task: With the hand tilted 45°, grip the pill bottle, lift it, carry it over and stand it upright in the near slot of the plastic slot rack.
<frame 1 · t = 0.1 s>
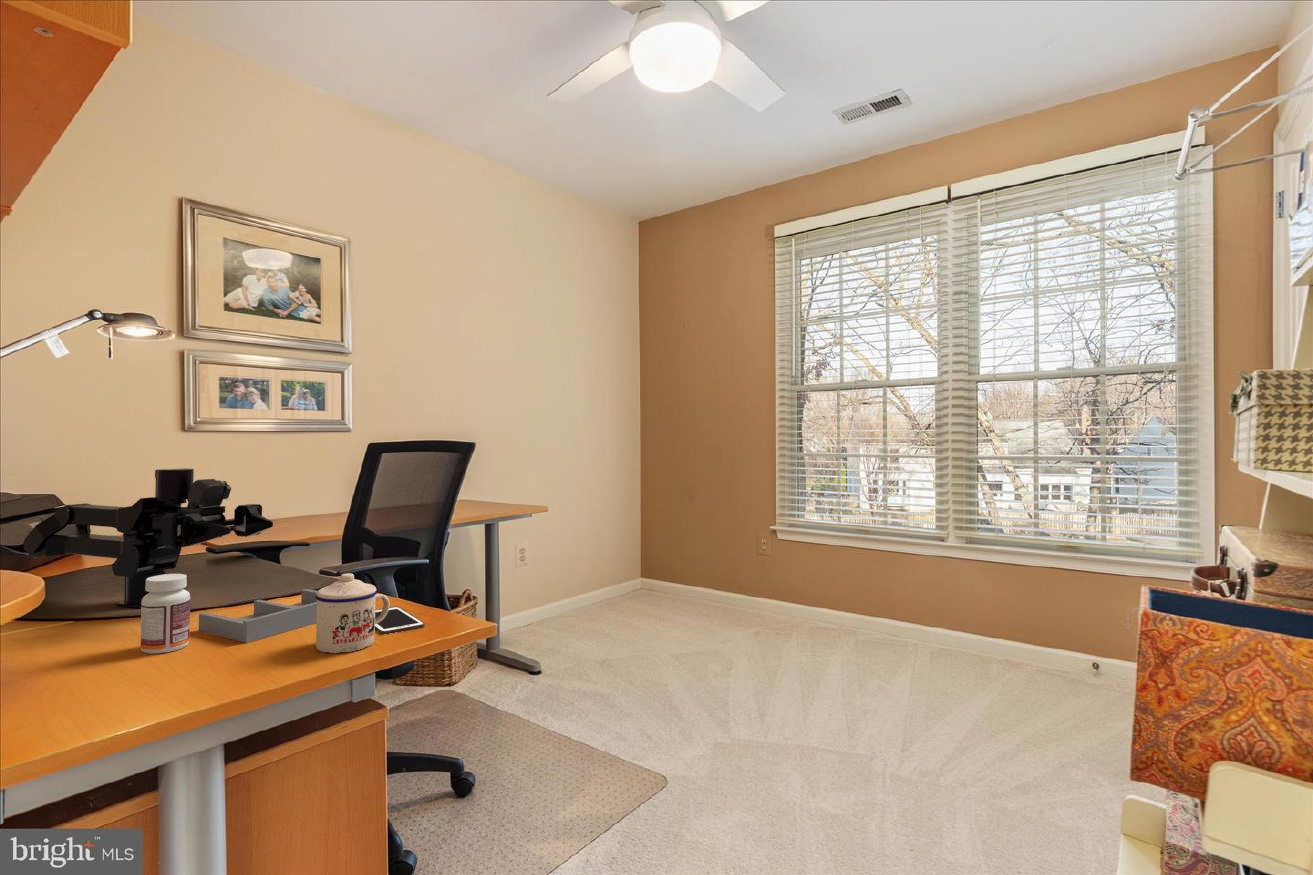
hand: (251, 527, 117), 17 cm above the table, tool horizontal, fingers open, 9 cm apart
pill bottle: (165, 649, 99), on the table
cell phone: (390, 624, 116), on the table
teacup with lid: (354, 643, 104), on the table
slot rack: (277, 620, 114), on the table
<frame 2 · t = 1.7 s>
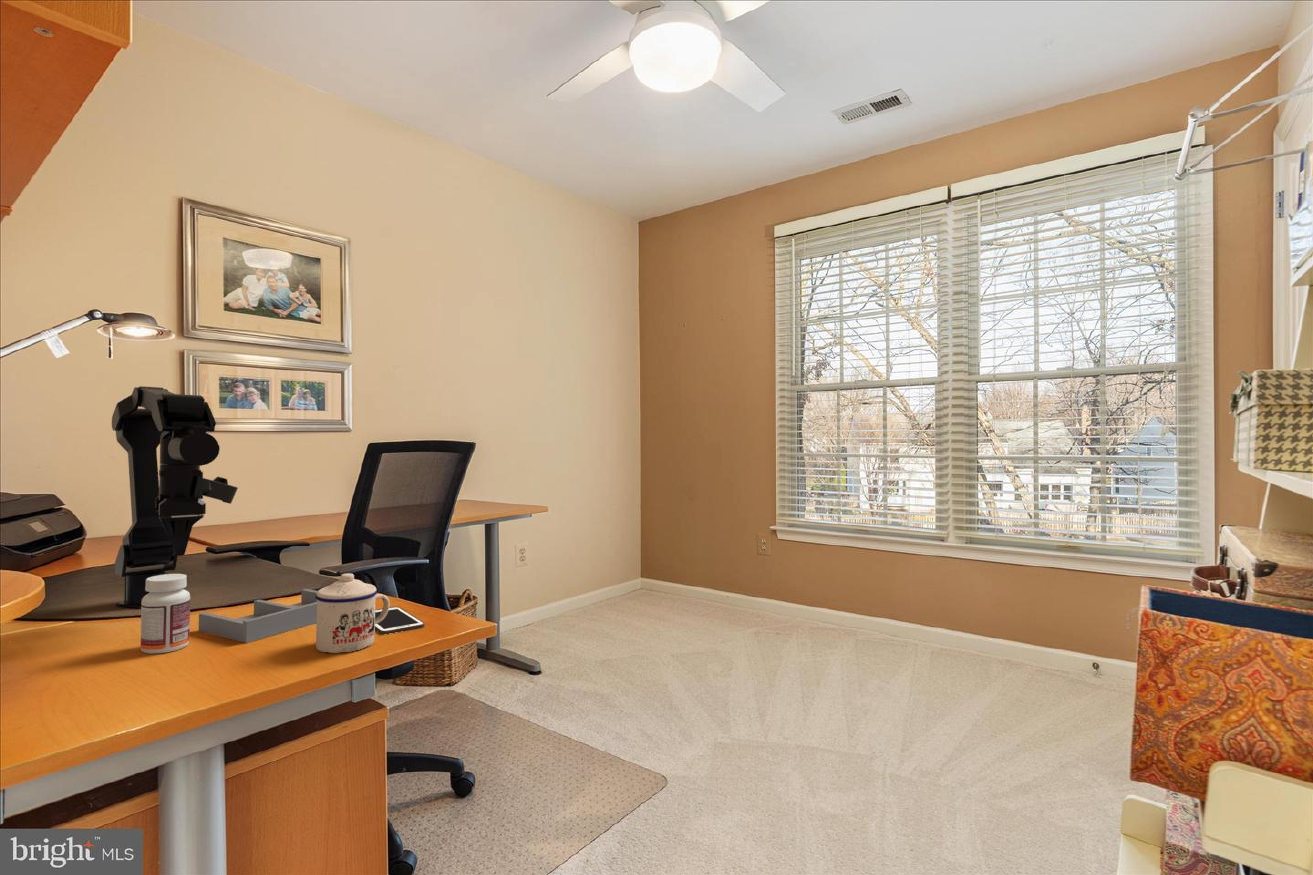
hand: (178, 551, 111), 13 cm above the table, tool pointing down, fingers open, 9 cm apart
nothing on the table moved.
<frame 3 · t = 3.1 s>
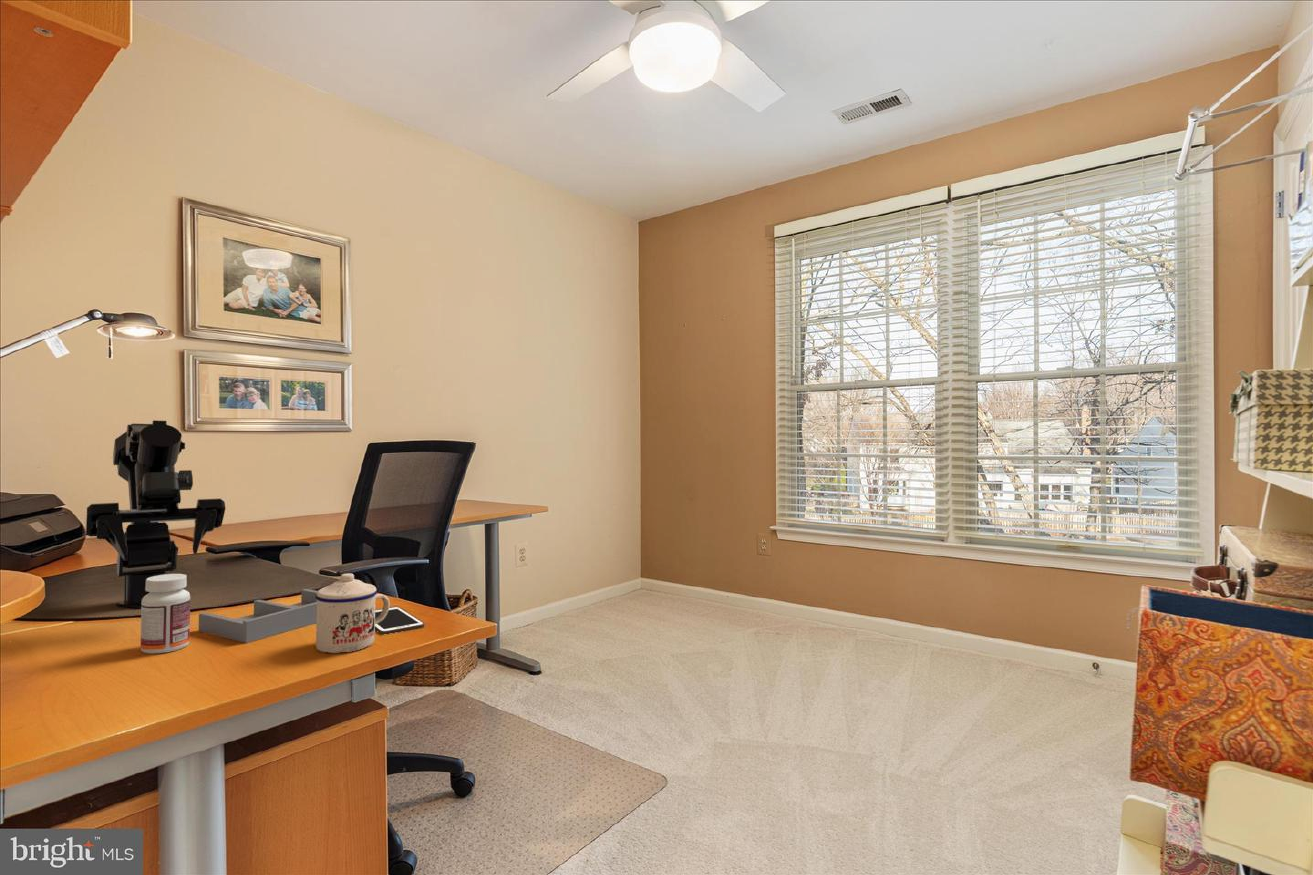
hand: (161, 555, 105), 13 cm above the table, tool tilted 45°, fingers open, 9 cm apart
nothing on the table moved.
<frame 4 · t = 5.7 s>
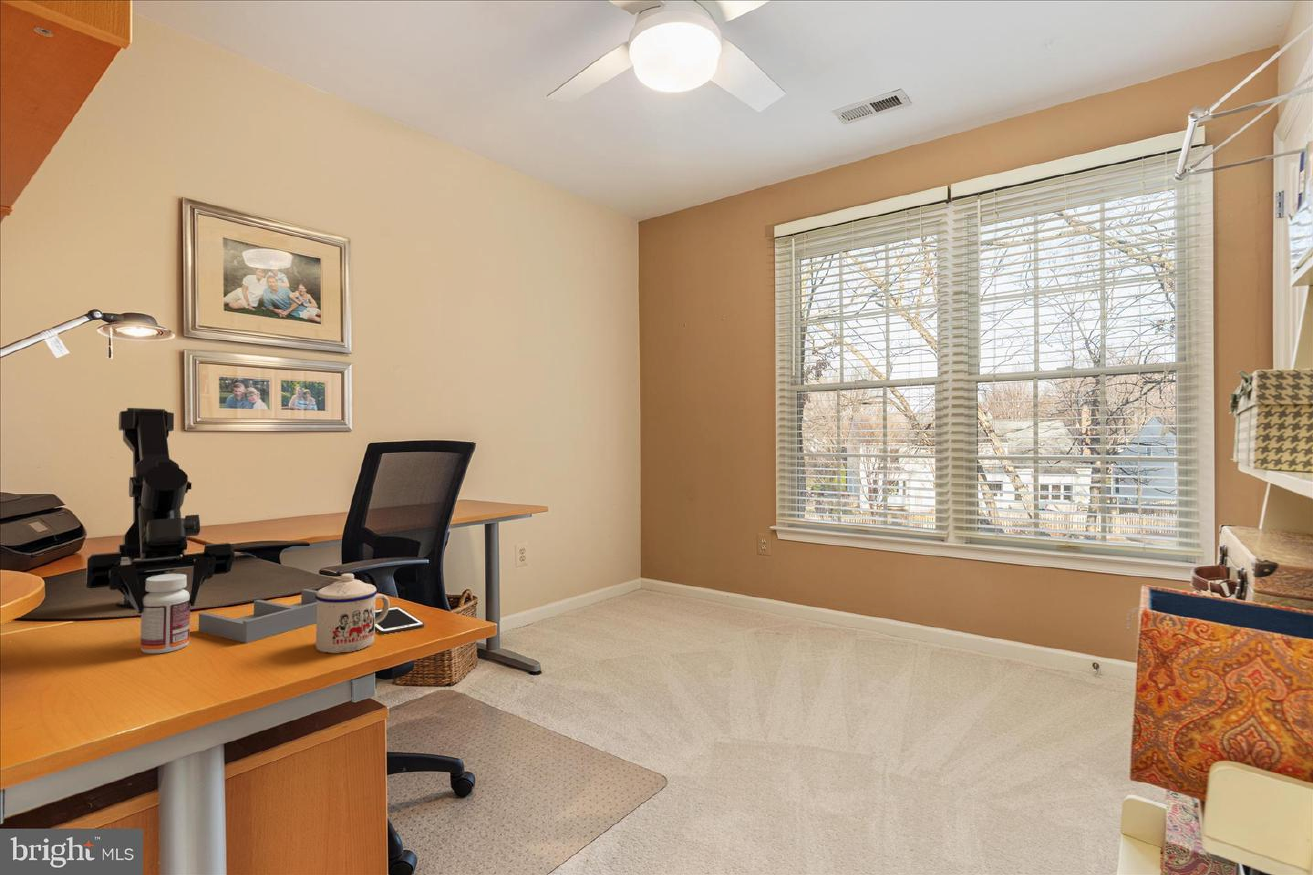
hand: (167, 608, 98), 7 cm above the table, tool tilted 45°, fingers closed on pill bottle, 6 cm apart
pill bottle: (165, 649, 99), on the table, touching gripper
everything else where it was.
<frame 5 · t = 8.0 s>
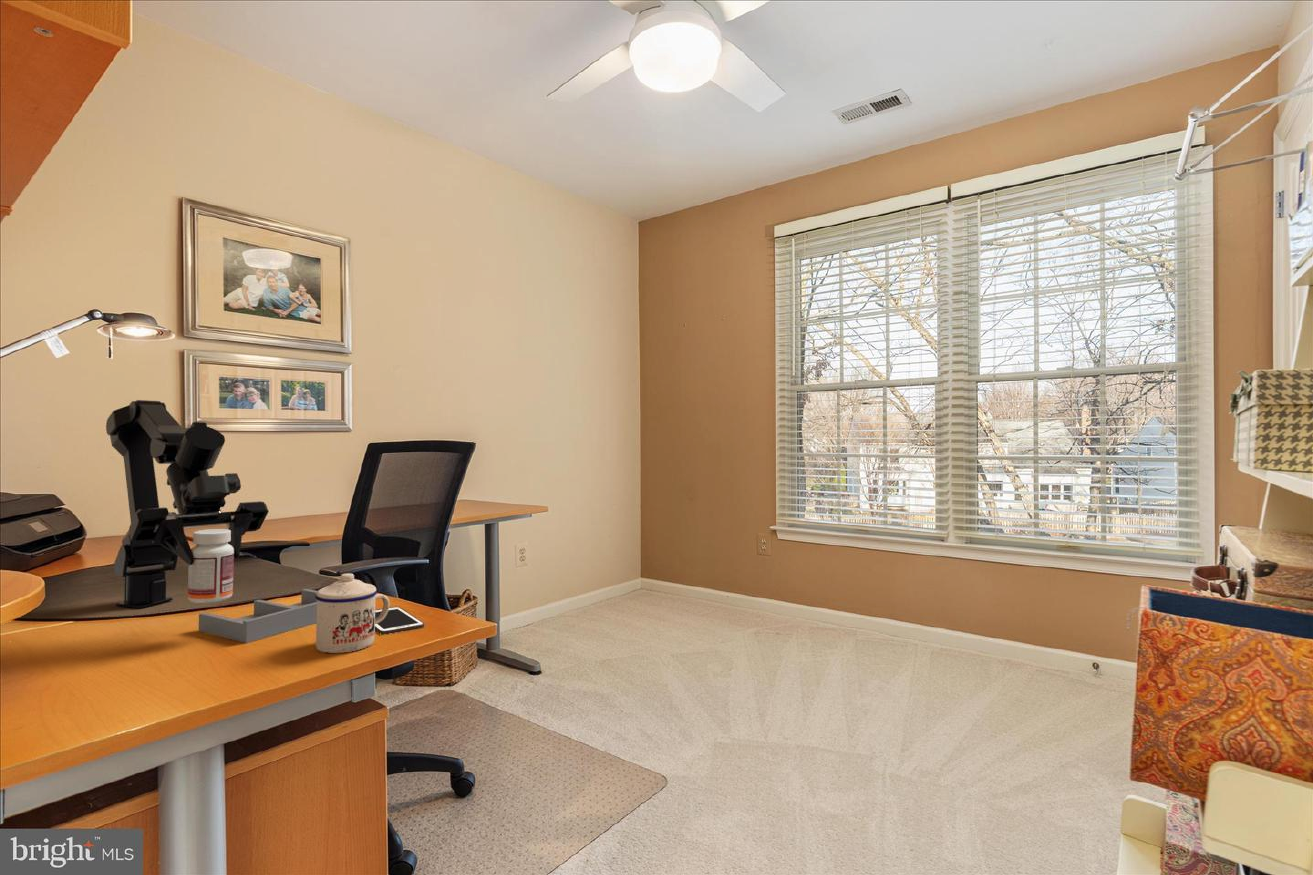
hand: (215, 560, 103), 13 cm above the table, tool tilted 45°, fingers closed on pill bottle, 6 cm apart
pill bottle: (210, 599, 104), point 6 cm above the table, touching gripper
everything else where it was.
when the fingers open (8 cm above the table, at t = 10.2 s): pill bottle drops 1 cm, resting on slot rack.
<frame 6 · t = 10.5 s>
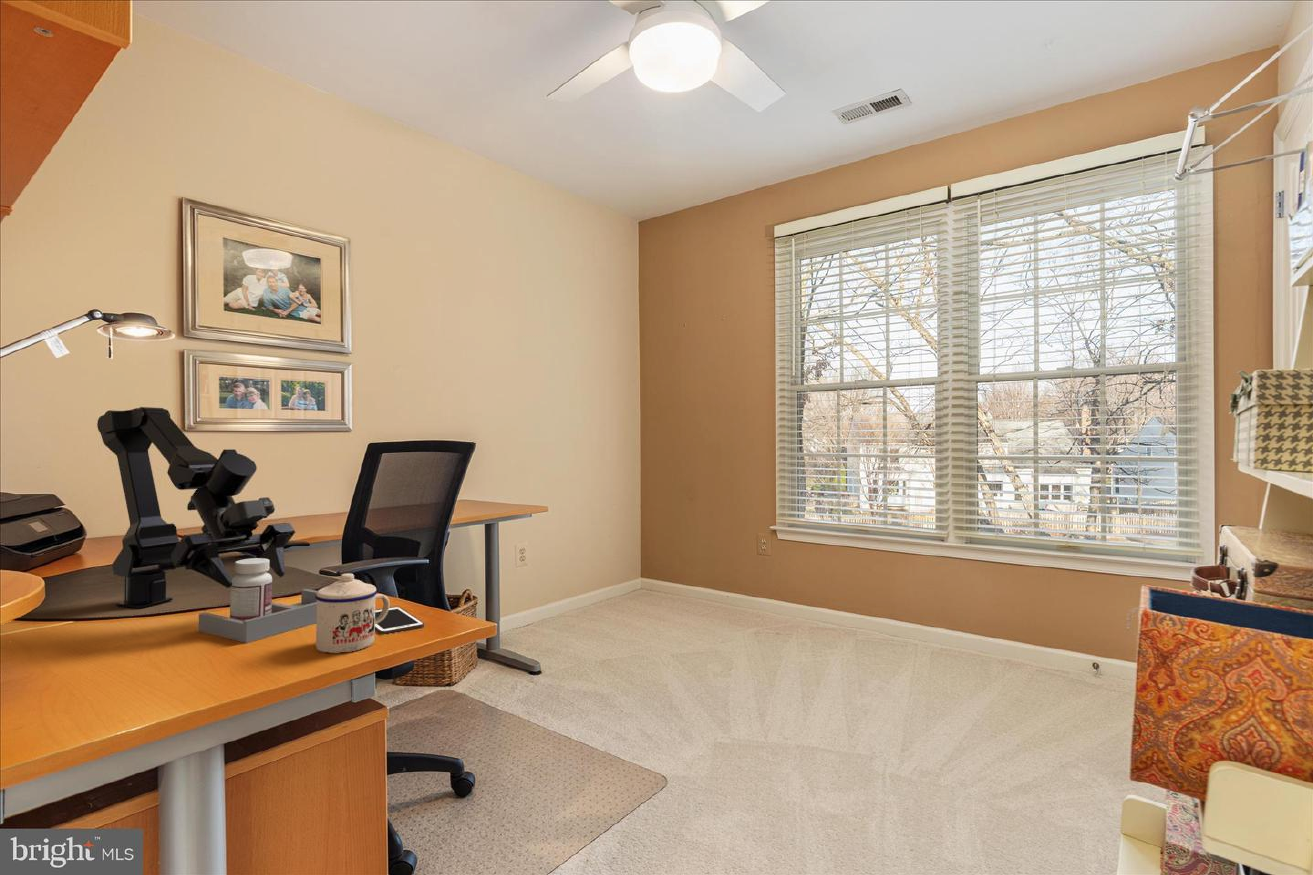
hand: (257, 580, 109), 9 cm above the table, tool tilted 45°, fingers open, 9 cm apart
pill bottle: (250, 625, 110), resting on slot rack
everything else where it was.
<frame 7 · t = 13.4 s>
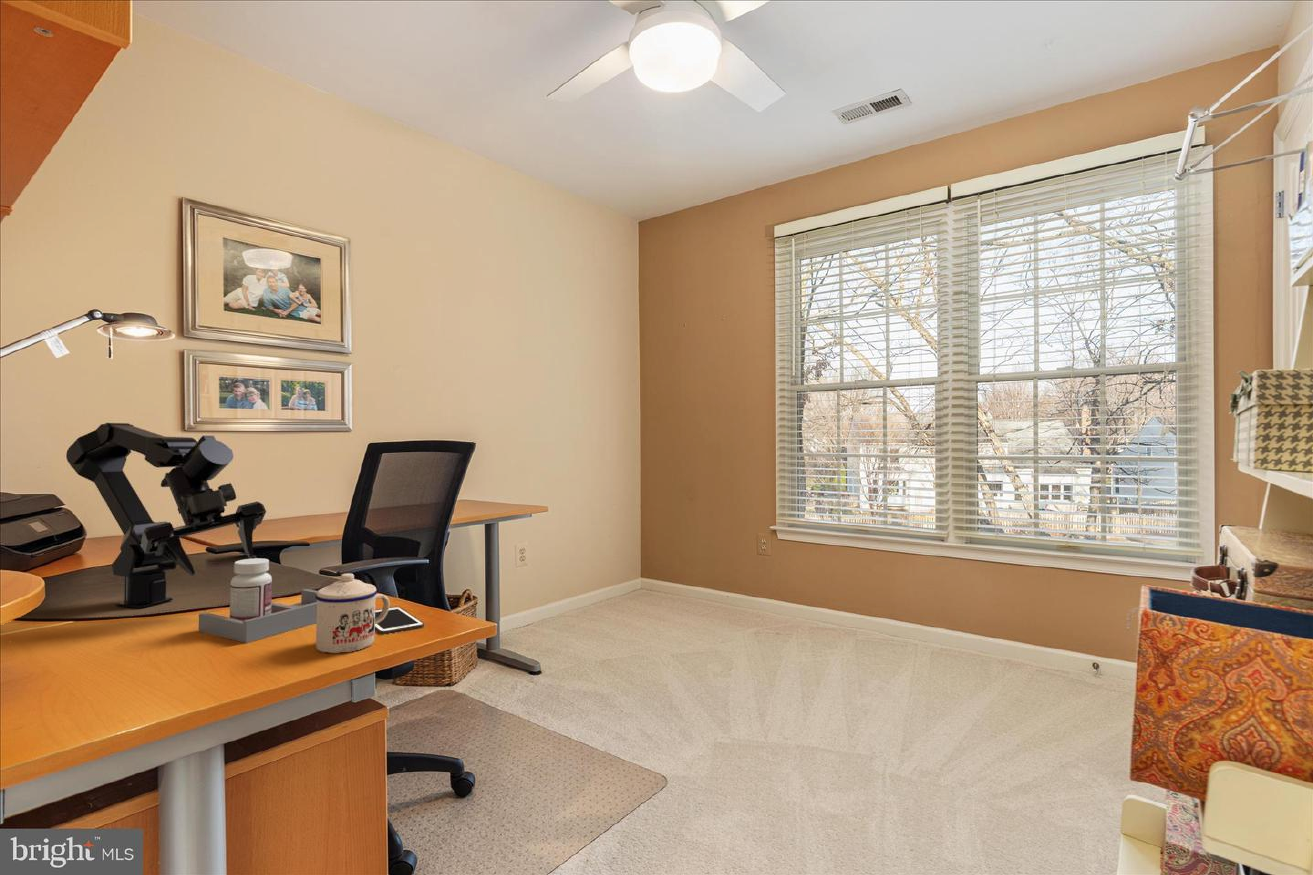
hand: (223, 565, 114), 10 cm above the table, tool tilted 35°, fingers open, 9 cm apart
nothing on the table moved.
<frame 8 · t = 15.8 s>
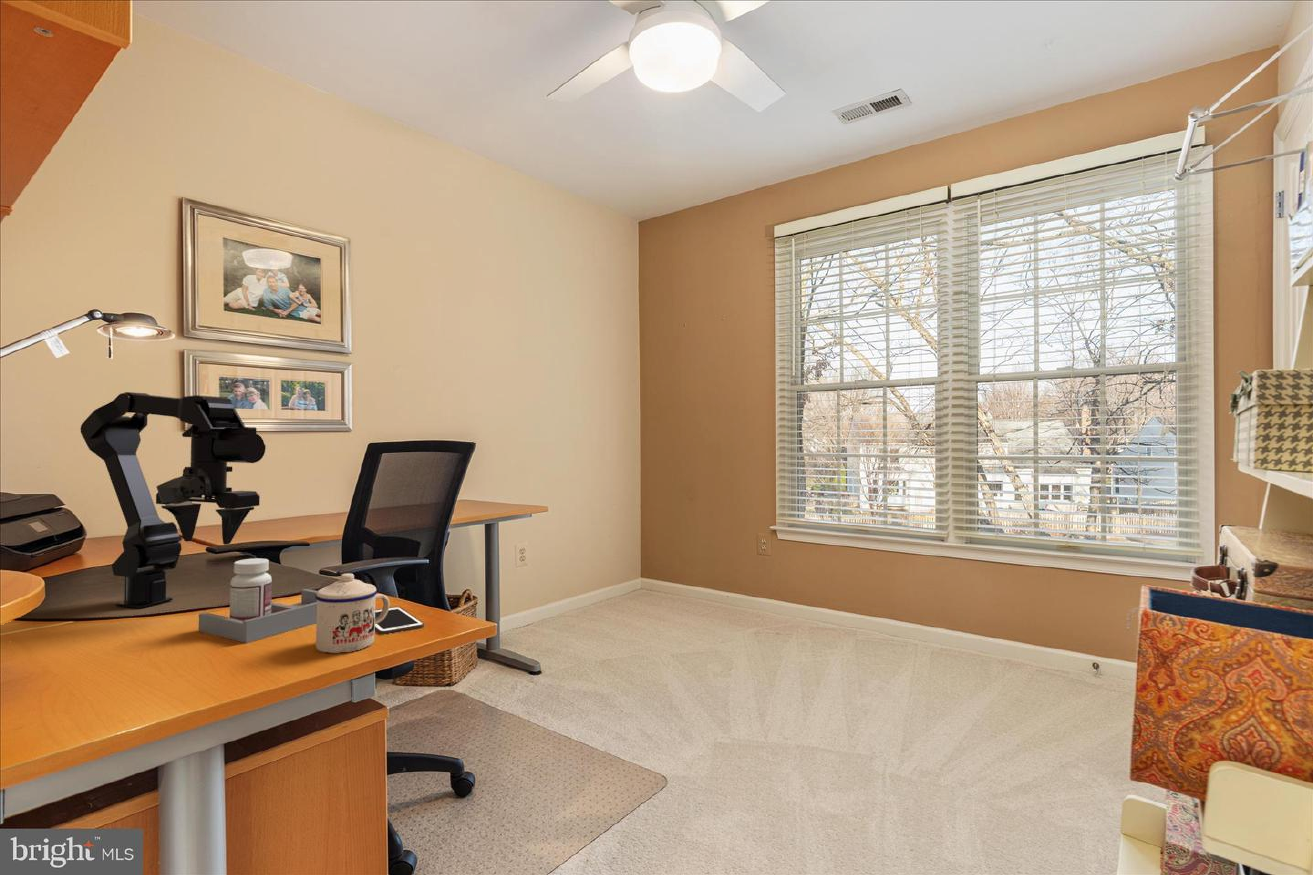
hand: (207, 542, 119), 13 cm above the table, tool pointing down, fingers open, 9 cm apart
nothing on the table moved.
at the end: pill bottle 0.5 cm from the target spot on the slot rack, point 0.3 cm above the slot rack's base; pill bottle tilted 0°; the gripper is holding nothing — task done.
